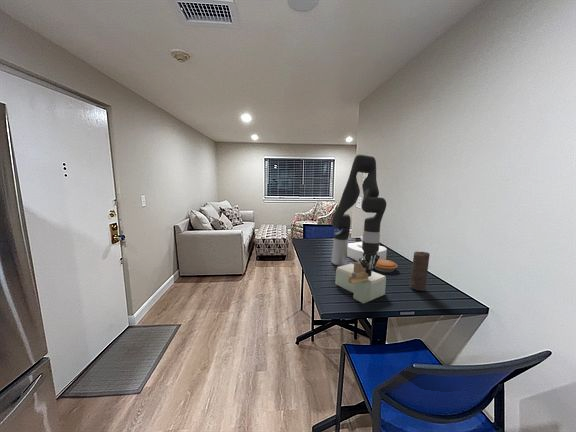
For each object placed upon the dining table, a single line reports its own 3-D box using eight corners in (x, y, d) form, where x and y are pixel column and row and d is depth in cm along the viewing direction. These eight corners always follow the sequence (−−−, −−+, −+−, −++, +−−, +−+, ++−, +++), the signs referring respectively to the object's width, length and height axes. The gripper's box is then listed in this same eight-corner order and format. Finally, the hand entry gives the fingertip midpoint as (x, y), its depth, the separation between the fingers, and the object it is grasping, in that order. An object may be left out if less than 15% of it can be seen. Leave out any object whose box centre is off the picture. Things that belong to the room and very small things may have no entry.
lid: (336, 269, 135) (337, 258, 134) (350, 265, 142) (351, 254, 141) (371, 284, 118) (372, 271, 117) (385, 279, 124) (386, 266, 123)
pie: (395, 266, 166) (395, 259, 165) (399, 275, 151) (400, 267, 150) (370, 263, 170) (371, 256, 169) (372, 272, 155) (372, 264, 154)
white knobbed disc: (340, 253, 191) (342, 232, 188) (366, 250, 202) (367, 230, 199) (364, 264, 169) (366, 240, 166) (391, 259, 180) (393, 237, 177)
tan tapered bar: (348, 282, 115) (349, 272, 114) (362, 277, 120) (363, 268, 120) (353, 284, 112) (354, 275, 112) (367, 279, 118) (368, 270, 117)
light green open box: (329, 285, 134) (330, 268, 132) (350, 279, 143) (351, 262, 142) (363, 303, 116) (365, 283, 115) (384, 294, 126) (386, 276, 124)
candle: (424, 293, 127) (429, 255, 124) (408, 290, 131) (412, 252, 128) (425, 288, 134) (430, 251, 131) (410, 284, 138) (414, 249, 134)
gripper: (372, 236, 124) (370, 270, 127) (355, 240, 116) (352, 276, 119) (386, 240, 118) (383, 275, 121) (369, 244, 110) (366, 281, 113)
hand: (368, 275), depth 120 cm, fingers closed
